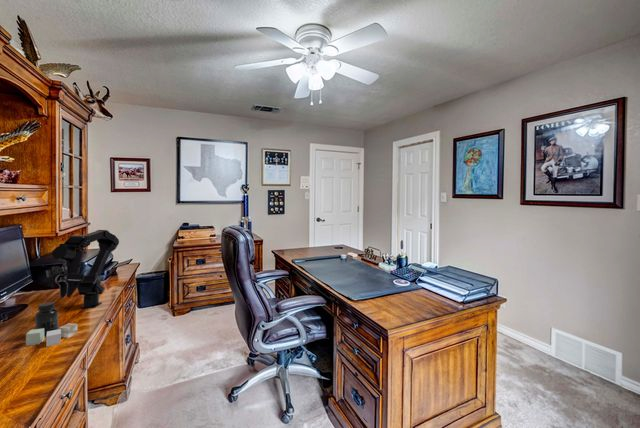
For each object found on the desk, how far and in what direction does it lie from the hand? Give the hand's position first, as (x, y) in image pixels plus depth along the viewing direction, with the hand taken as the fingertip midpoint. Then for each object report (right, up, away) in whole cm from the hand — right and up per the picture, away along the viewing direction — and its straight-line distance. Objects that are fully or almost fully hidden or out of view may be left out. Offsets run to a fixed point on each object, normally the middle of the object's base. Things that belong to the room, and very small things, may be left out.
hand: (65, 297), depth 131 cm
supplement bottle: (+2, -12, -11) cm, 16 cm away
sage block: (+5, -12, -19) cm, 23 cm away
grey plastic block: (+11, -12, -18) cm, 25 cm away
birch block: (+12, -12, -12) cm, 21 cm away
